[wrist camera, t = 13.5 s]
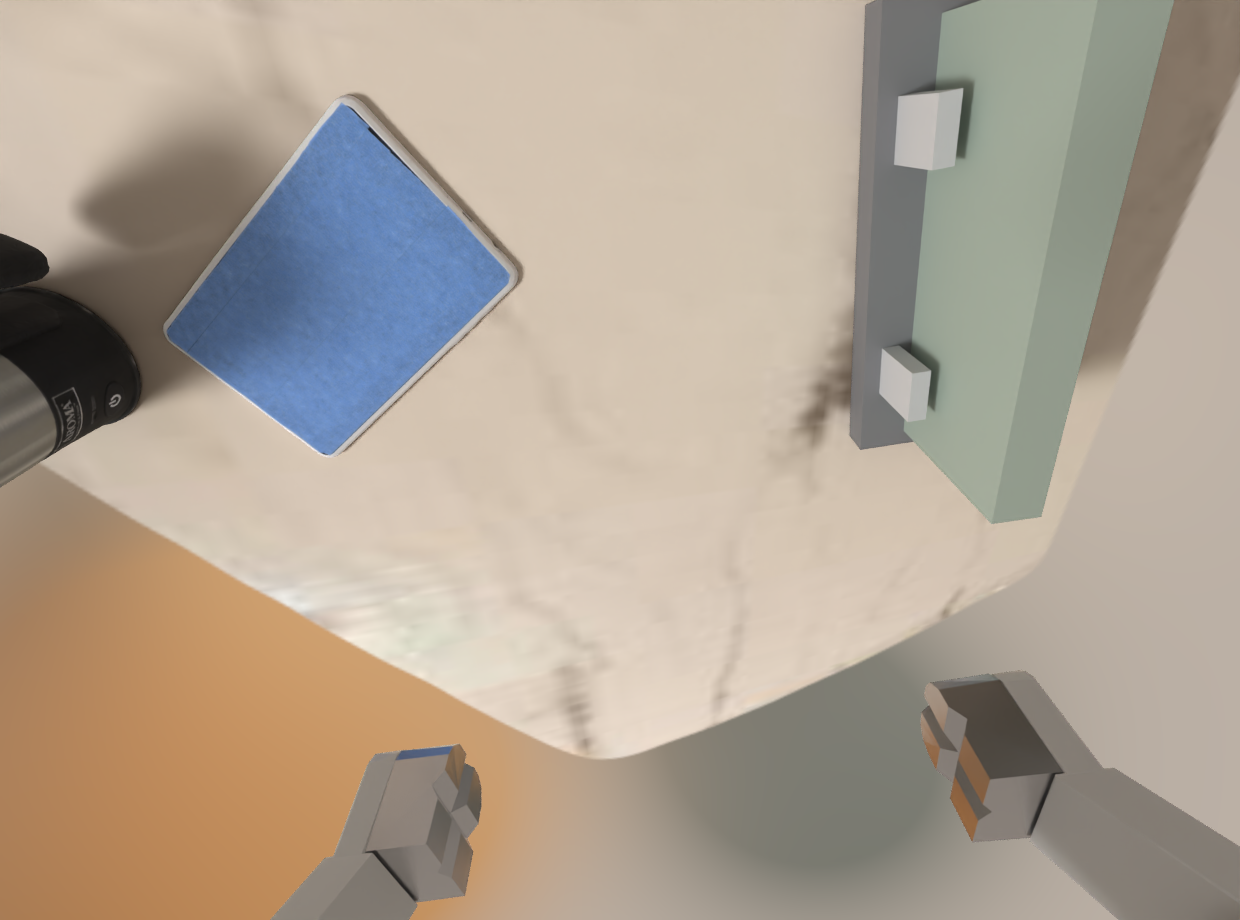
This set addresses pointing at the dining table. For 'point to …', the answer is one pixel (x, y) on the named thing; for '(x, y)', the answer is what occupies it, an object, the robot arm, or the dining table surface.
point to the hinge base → (896, 209)
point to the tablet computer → (340, 284)
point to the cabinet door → (1024, 230)
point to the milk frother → (53, 366)
